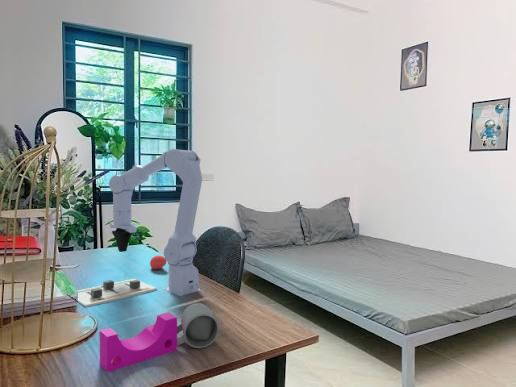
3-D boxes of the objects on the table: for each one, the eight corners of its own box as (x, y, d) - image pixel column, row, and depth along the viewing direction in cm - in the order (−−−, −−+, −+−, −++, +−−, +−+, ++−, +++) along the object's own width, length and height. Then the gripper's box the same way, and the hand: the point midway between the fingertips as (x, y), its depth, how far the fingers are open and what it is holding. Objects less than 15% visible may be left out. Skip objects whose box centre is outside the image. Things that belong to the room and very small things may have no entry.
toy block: (162, 341, 89) (162, 309, 88) (177, 351, 84) (177, 317, 84) (95, 362, 79) (94, 326, 78) (107, 375, 74) (107, 336, 73)
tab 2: (113, 287, 120) (113, 281, 120) (106, 289, 119) (106, 283, 118) (110, 286, 122) (110, 280, 122) (103, 287, 120) (103, 281, 120)
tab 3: (140, 287, 121) (140, 281, 121) (132, 289, 119) (132, 282, 119) (136, 285, 123) (136, 279, 122) (129, 287, 121) (129, 281, 121)
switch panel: (156, 292, 122) (156, 287, 122) (85, 310, 106) (85, 304, 106) (134, 282, 131) (134, 277, 131) (65, 298, 115) (65, 292, 115)
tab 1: (102, 296, 113) (102, 289, 112) (93, 298, 111) (93, 291, 111) (99, 294, 114) (99, 287, 114) (90, 296, 112) (90, 289, 112)
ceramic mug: (211, 326, 94) (210, 296, 92) (219, 345, 86) (218, 312, 84) (166, 335, 90) (164, 304, 89) (170, 354, 82) (168, 321, 81)
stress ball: (153, 275, 141) (153, 258, 140) (148, 269, 149) (148, 253, 148) (167, 273, 143) (167, 256, 143) (161, 267, 151) (161, 251, 151)
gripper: (144, 212, 129) (144, 253, 130) (123, 208, 139) (123, 246, 140) (124, 213, 124) (124, 256, 125) (103, 209, 134) (104, 249, 135)
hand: (122, 251), depth 132 cm, fingers closed
